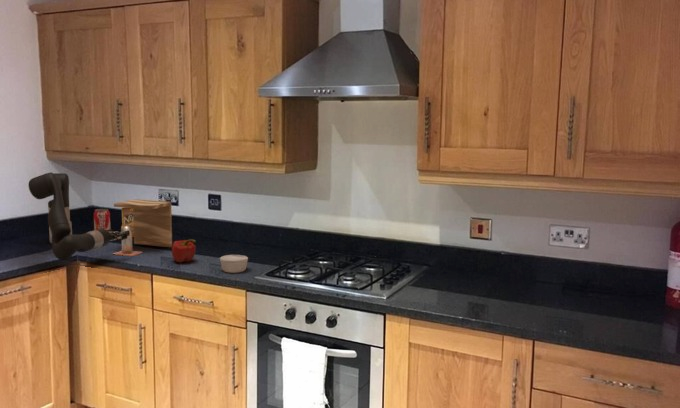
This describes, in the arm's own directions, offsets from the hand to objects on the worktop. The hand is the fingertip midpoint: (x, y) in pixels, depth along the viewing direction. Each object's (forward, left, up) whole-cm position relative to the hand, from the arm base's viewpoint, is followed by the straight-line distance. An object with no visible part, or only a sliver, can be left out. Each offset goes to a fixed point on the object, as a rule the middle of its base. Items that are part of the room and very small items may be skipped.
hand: (120, 232), depth 263 cm
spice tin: (-4, 0, -10) cm, 11 cm away
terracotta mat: (-4, 0, -11) cm, 11 cm away
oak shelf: (-17, 0, -11) cm, 20 cm away
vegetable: (-1, +31, -11) cm, 33 cm away
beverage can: (-41, -42, -11) cm, 59 cm away
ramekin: (+4, +57, -11) cm, 58 cm away
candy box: (-38, -22, -11) cm, 45 cm away
